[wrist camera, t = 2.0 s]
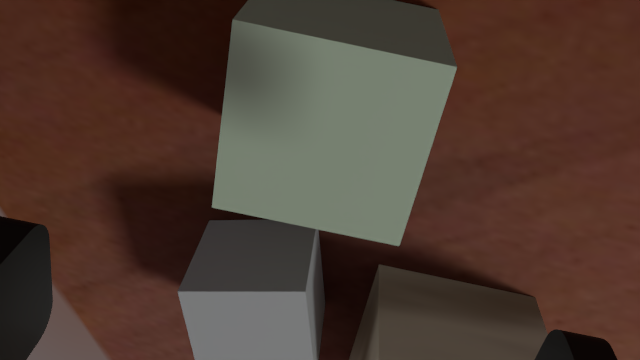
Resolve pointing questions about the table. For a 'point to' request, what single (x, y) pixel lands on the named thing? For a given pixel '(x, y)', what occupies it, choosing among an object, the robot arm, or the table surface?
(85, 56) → the table surface
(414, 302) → the maple block
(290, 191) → the green cube
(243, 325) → the grey block
